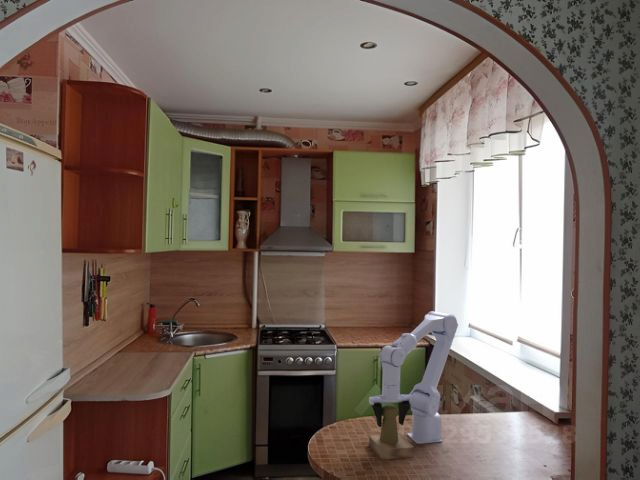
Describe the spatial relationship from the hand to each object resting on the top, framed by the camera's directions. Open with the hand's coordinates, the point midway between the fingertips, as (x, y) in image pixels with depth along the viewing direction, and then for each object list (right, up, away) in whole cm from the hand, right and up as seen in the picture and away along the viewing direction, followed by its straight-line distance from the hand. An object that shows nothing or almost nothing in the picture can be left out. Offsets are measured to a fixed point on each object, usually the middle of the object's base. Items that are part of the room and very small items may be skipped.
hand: (390, 424), depth 157 cm
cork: (0, -5, 0) cm, 5 cm away
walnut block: (0, -8, -1) cm, 8 cm away
